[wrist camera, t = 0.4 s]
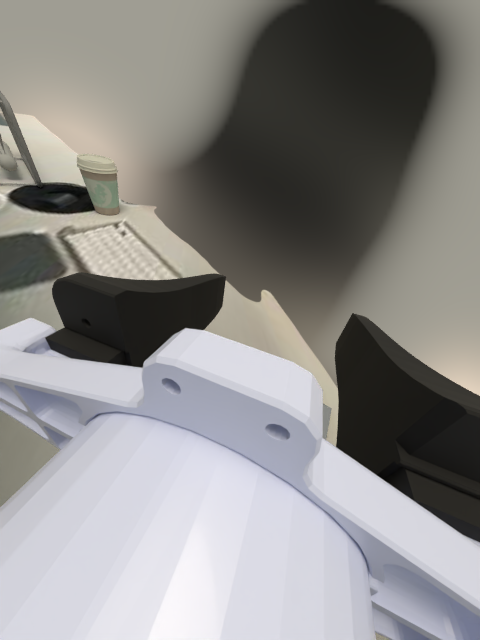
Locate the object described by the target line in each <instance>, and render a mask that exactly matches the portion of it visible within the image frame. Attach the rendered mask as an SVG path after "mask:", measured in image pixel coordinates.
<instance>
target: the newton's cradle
mask: <svg viewBox="0 0 480 640" xmlns="http://www.w3.org/2000/svg"><path fill="white" fill-rule="evenodd" d="M0 107H1V109H2V112H3V114H4V116H5V119H6V121H7V123H8V126H9V128H10V130H11V133H12V135H13V137H14V140H15V142H16V144H17V147H18V149H19V151H20V154H21V156H22V158H14V157H13V155H12V153H11V151H10V148H9V146H8V145H7V144H6V143H5V142H3V141H2V139H1V135H0V166H1V167H3V168H4V169H6V170H8V171H15V170H16V169H17V167H18V166H17V163H16V161H15V159H20V160H24V162H25V164H26V166H27V167H28V169H29V171H30V173H31V175H32V177H33V178H34V180H35V182H36V184H17V183H0V185H30V186H38V187H40V188H42V187H43V185H42V183H41V180H40V177H39V175H38V172H37V170H36V168H35V165H34V163H33V160H32V158H31V155H30V153H29V150H28V148H27V145H26V143H25V140H24V138H23V135H22V133H21V130H20V128H19V125H18V123H17V120H16V118H15V115H14V113H13V111H12V108H11V106H10V104H9V102H8V101H7V100H6V98H5V97H4V95H3V94H2V93H1V91H0Z"/></svg>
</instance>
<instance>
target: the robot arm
mask: <svg viewBox="0 0 480 640" xmlns="http://www.w3.org/2000/svg"><path fill="white" fill-rule="evenodd" d="M225 280H226V277H225V276H223V275H219V274H206V275H200V276H194V277H188V278H180V279H172V280H132V279H121V278H113V277H106V276H100V275H94V274H88V273H82V272H81V273H76V274H73V275H70V276H66V277H63V278H60V279H57V280H56V281H55V282H54V285H53V288H52V295H53V299H54V302H55V305H56V307H57V310H58V312H59V315H60V317H61V319H62V322H63V324H64V327H65V328H63V329H61V330H59V331H56V330H55V329H54V328H53V327H52V326H50V325H48V324H45V323H43V322H41V321H38V320H36V319H33V318H28V319H26V320H24V321H21V322H19V323H16V324H14V325H11V326H9V327H6V328H4V329H2V330H0V410H1V411H2V412H4V413H6V414H7V415H9V416H10V417H12V418H14V419H15V420H17V421H18V422H20V423H21V424H23V425H24V426H26V427H27V428H29V429H30V430H32V431H33V432H35V433H36V434H38V435H39V436H41V437H42V438H44V439H45V440H47V441H48V442H49V443H51V444H52V445H54V446H55V447H57V448H58V449H60V451H59V452H58V453H57V454H56V455H55V456H54V457H53V458H52V459H50V460H49V461H48V462H47V463H46V464H45V465H44V466H43V467H42V468H41V469H40V470H39V471H38V472H37V473H36V474H35V475H34V476H33V477H32V478H31V479H30V480H29V481H28V482H27V483H25V484H24V485H23V486H22V487H21V488H20V489H19V490H18V491H17V492H16V493H15V494H14V495H13V496H12V497H11V498H10V499H9V500H8V501H7V502H6V503H5V504H4V505H3V506H1V507H0V640H376V636H375V632H376V633H378V634H380V635H382V636H384V637H386V638H388V639H390V640H480V396H478V395H477V394H474V393H473V392H471V391H469V390H467V389H465V388H463V387H461V386H460V385H458V384H456V383H455V382H453V381H451V380H449V379H448V378H446V377H444V376H443V375H441V374H439V373H438V372H436V371H435V370H433V369H431V368H430V367H428V366H427V365H425V364H424V363H422V362H421V361H420V360H418V359H416V358H415V357H414V356H412V355H411V354H410V353H408V352H407V351H406V350H405V349H403V348H402V347H401V346H400V345H398V344H397V343H396V342H395V341H394V340H392V339H391V338H390V337H389V336H388V335H387V334H385V333H384V332H383V331H382V330H381V329H380V328H379V327H378V326H376V325H375V324H374V323H373V322H372V321H370V320H369V319H368V318H366V317H364V316H360V315H357V314H354V313H353V314H352V315H351V317H350V319H349V321H348V323H347V324H346V326H345V328H344V330H343V332H342V333H341V335H340V337H339V339H338V341H337V343H336V350H335V364H336V374H337V383H338V396H339V409H338V431H337V444H336V447H335V446H334V445H332V444H331V443H329V442H328V441H326V440H325V439H324V438H322V437H323V390H322V388H321V387H320V385H319V384H318V382H317V381H316V379H315V377H314V376H313V374H312V373H310V372H308V371H307V370H305V369H303V368H302V367H300V366H298V365H297V364H295V363H293V362H292V361H289V360H286V359H283V358H280V357H277V356H275V355H272V354H269V353H266V352H263V351H261V350H258V349H255V348H252V347H249V346H247V345H244V344H241V343H238V342H235V341H232V340H230V339H227V338H224V337H221V336H218V335H216V334H213V333H210V332H207V331H204V329H205V328H206V327H207V326H208V325H209V324H210V322H211V321H212V320H213V319H214V318H215V317H216V315H217V314H218V312H219V311H220V309H221V307H222V304H223V296H224V288H225Z"/></svg>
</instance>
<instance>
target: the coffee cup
mask: <svg viewBox="0 0 480 640" xmlns="http://www.w3.org/2000/svg"><path fill="white" fill-rule="evenodd" d="M77 167H78V168H79V169H80V171H81V174H82V177H83V179H84V182H85V184H86V187H87V190H88V192H89V195H90V197H91V200H92V203H93V205H94V208H95V210H96V212H98V213H100V214H104V215H115V214H118V213H119V198H118V184H117V172H118V170H117V167H116V166H115V164H114V161H113V160H111V159H109V158H106V157H103V156H98V155H91V154H80V155H78V156H77Z"/></svg>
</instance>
